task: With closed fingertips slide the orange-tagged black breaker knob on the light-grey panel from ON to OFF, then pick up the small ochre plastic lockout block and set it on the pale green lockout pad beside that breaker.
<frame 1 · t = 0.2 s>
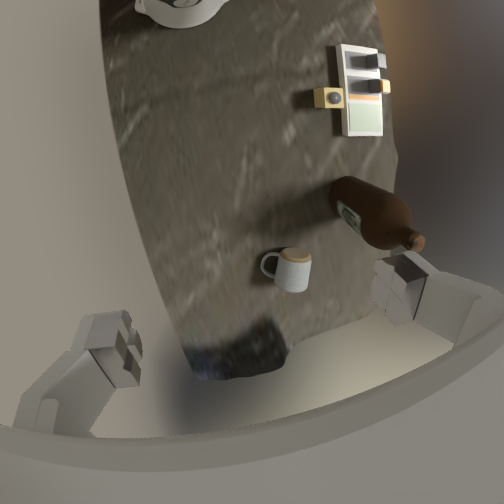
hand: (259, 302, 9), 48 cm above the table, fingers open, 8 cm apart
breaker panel: (357, 90, 50), on the table
breaker b: (379, 86, 45), point 5 cm above the table, slide at 0.0 cm
ceramic mug: (282, 261, 66), on the table
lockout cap: (323, 98, 50), on the table
breaker a: (376, 61, 42), point 5 cm above the table, slide at 0.0 cm
olive oil: (346, 195, 61), on the table
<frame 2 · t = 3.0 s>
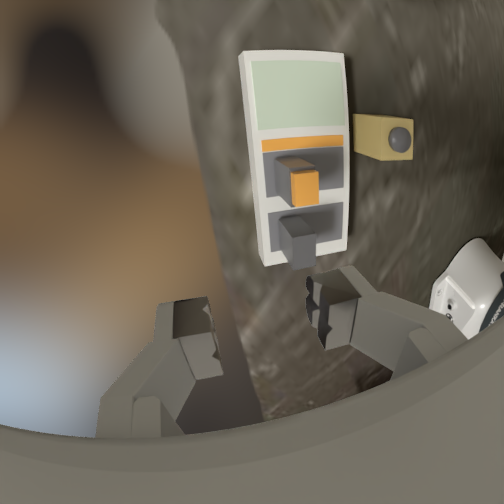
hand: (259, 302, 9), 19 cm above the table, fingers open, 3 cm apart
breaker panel: (295, 155, 26), on the table
breaker b: (295, 181, 21), point 5 cm above the table, slide at 0.0 cm
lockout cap: (368, 132, 26), on the table
breaker a: (296, 241, 24), point 5 cm above the table, slide at 0.0 cm
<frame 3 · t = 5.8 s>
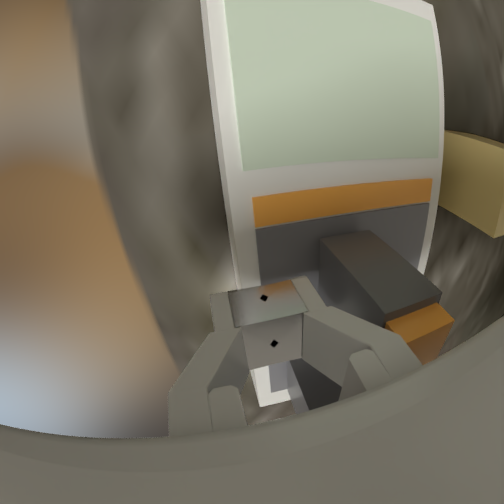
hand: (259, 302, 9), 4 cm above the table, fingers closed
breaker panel: (327, 213, 12), on the table
breaker b: (375, 309, 8), point 5 cm above the table, slide at 1.3 cm, touching gripper
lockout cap: (452, 164, 13), on the table
breaker a: (321, 401, 11), point 5 cm above the table, slide at 0.0 cm
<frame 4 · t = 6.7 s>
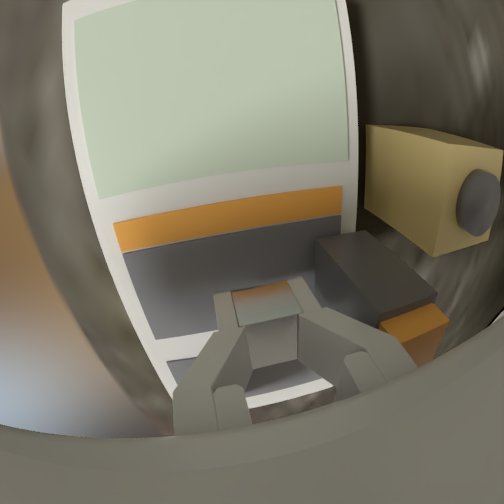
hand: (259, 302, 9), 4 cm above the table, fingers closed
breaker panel: (228, 229, 12), on the table
breaker b: (371, 309, 8), point 5 cm above the table, slide at 5.6 cm, touching gripper
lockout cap: (397, 165, 12), on the table
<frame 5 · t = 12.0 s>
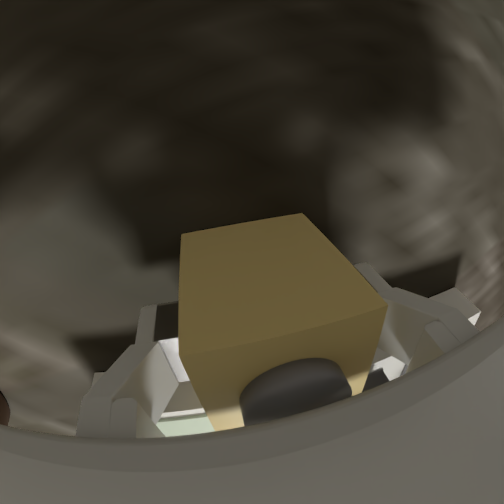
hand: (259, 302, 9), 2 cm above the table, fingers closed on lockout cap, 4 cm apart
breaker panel: (300, 390, 14), on the table
breaker b: (369, 439, 8), point 5 cm above the table, slide at 5.6 cm
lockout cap: (249, 274, 10), on the table, touching gripper
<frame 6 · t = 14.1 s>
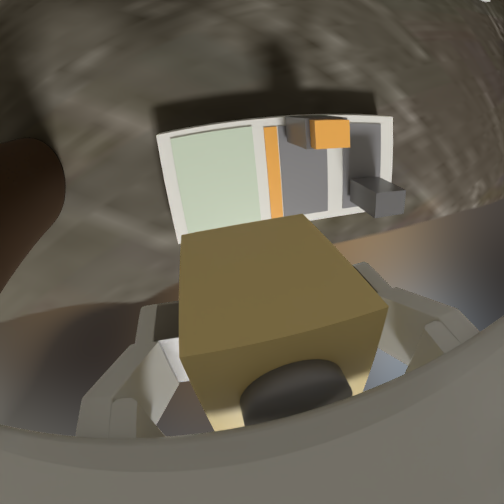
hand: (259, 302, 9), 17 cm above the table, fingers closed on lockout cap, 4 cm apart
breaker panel: (283, 165, 24), on the table
breaker b: (317, 130, 18), point 5 cm above the table, slide at 5.6 cm
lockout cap: (249, 275, 10), point 15 cm above the table, touching gripper
breaker a: (376, 195, 22), point 5 cm above the table, slide at 0.0 cm
olive oil: (27, 184, 20), on the table
when the fingers open (6 cm above the table, at t = 16.5 s): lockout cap drops 1 cm, resting on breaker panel.
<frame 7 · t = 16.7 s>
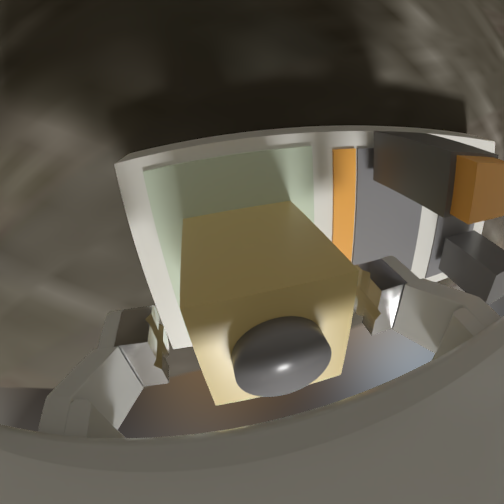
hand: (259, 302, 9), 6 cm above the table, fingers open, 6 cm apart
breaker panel: (346, 211, 14), on the table
breaker b: (442, 169, 8), point 5 cm above the table, slide at 5.6 cm
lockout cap: (243, 256, 11), point 3 cm above the table, touching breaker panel
breaker a: (479, 265, 12), point 5 cm above the table, slide at 0.0 cm
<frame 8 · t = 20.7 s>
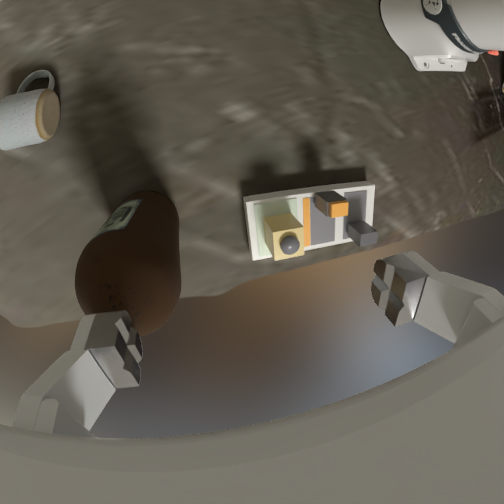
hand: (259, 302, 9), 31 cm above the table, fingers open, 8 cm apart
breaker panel: (310, 215, 43), on the table
breaker b: (331, 203, 37), point 5 cm above the table, slide at 5.6 cm
ceramic mug: (39, 107, 27), on the table
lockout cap: (278, 228, 40), point 3 cm above the table, touching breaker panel
breaker a: (362, 233, 40), point 5 cm above the table, slide at 0.0 cm
olive oil: (147, 221, 38), on the table
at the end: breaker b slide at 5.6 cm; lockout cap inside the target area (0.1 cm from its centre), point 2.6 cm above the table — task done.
